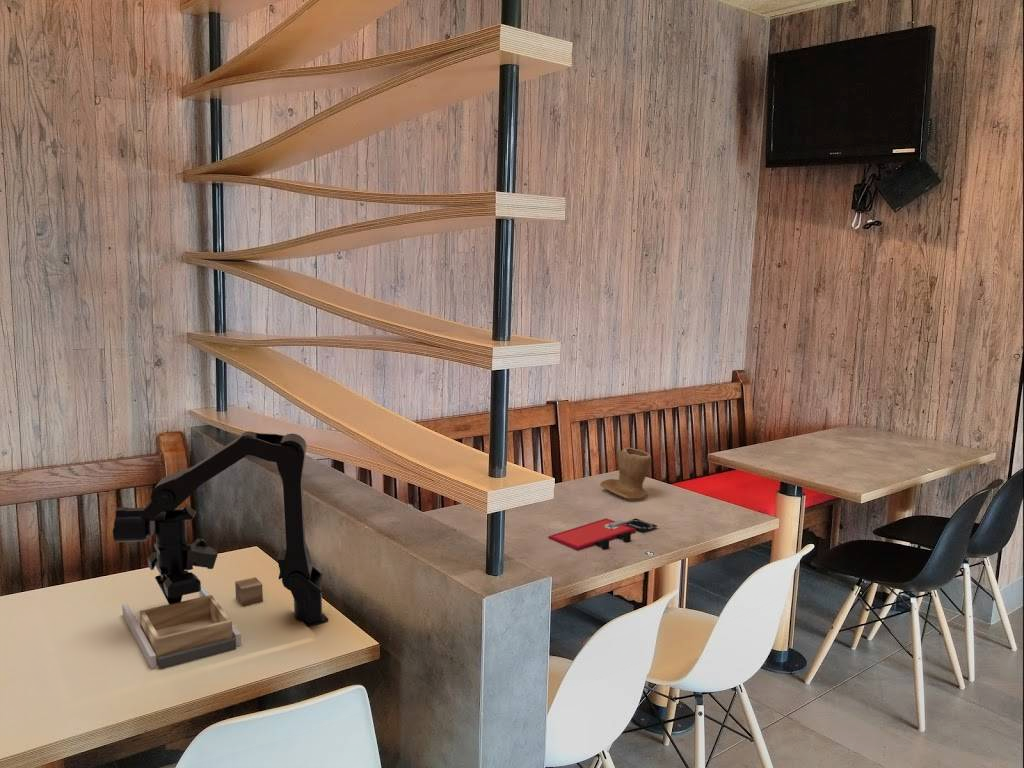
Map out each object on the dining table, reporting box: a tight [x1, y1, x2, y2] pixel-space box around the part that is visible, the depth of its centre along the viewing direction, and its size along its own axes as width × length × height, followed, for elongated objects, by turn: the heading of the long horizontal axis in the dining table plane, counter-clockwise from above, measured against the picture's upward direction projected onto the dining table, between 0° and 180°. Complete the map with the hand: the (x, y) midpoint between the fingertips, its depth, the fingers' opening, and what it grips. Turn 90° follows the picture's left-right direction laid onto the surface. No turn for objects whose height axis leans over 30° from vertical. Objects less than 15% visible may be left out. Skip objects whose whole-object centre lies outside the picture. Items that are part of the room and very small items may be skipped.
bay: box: [121, 586, 242, 670], centre depth 169 cm, size 28×18×3 cm, turn 35°
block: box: [234, 576, 264, 607], centre depth 183 cm, size 4×4×5 cm
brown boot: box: [599, 447, 652, 500], centre depth 264 cm, size 15×12×15 cm
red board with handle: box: [547, 518, 658, 552], centre depth 230 cm, size 30×3×15 cm
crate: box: [139, 594, 233, 666], centre depth 165 cm, size 14×14×5 cm
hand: (175, 611), depth 172 cm, fingers closed
